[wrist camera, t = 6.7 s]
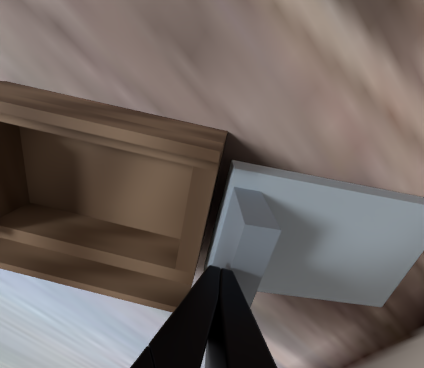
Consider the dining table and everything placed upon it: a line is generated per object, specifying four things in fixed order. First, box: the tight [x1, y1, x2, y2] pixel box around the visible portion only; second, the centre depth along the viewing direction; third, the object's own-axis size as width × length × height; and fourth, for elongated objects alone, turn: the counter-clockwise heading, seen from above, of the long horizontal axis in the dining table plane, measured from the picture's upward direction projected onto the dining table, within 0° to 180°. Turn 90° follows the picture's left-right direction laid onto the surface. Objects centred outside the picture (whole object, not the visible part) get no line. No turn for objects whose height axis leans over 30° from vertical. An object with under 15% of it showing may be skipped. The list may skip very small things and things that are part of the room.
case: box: [0, 81, 228, 312], centre depth 11 cm, size 12×8×4 cm, turn 79°
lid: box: [204, 160, 424, 307], centre depth 10 cm, size 10×7×4 cm, turn 78°
